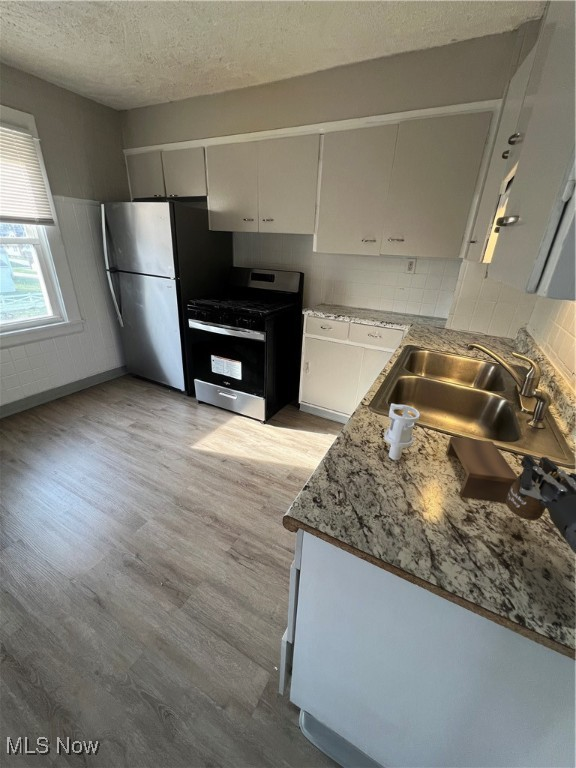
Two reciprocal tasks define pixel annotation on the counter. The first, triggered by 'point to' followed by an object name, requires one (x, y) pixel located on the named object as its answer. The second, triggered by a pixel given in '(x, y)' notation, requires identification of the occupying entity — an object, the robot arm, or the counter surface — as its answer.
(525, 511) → the utensil holder
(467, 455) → the wooden pedestal stand
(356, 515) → the counter surface
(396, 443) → the strainer
